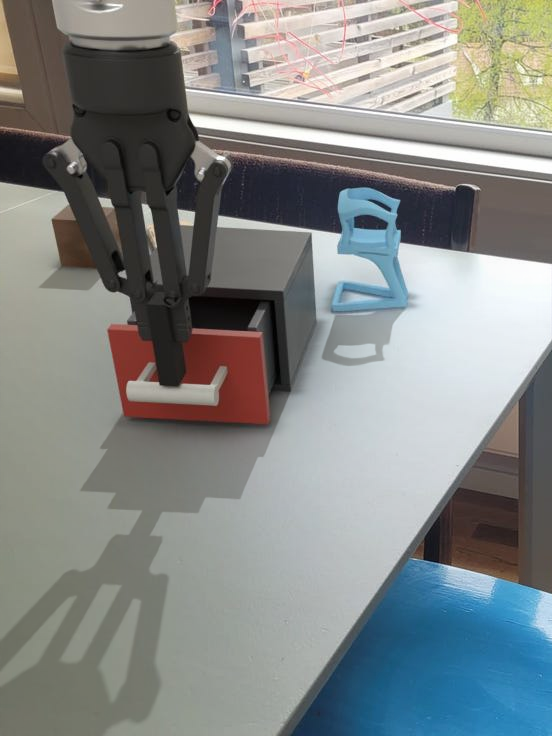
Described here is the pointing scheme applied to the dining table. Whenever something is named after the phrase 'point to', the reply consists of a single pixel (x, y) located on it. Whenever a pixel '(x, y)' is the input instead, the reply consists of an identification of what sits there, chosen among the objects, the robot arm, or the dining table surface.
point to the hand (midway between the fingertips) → (173, 378)
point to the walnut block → (78, 238)
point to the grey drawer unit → (263, 284)
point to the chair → (370, 249)
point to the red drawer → (204, 364)
